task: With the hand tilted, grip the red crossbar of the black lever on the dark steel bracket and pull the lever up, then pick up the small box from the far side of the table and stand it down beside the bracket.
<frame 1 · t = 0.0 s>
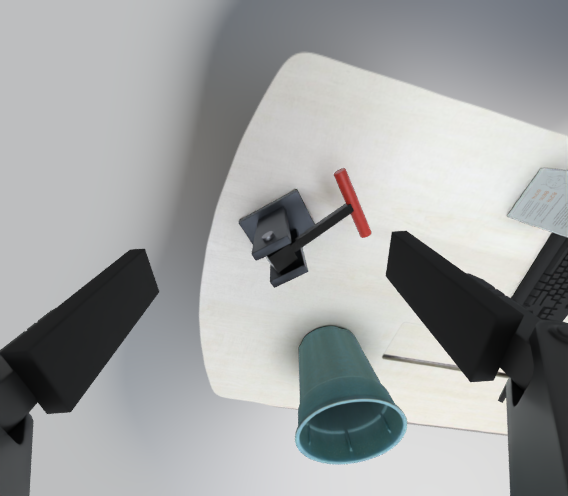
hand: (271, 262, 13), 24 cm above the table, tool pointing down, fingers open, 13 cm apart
small box: (535, 197, 38), on the table
lever: (315, 231, 28), point 9 cm above the table, hinge at -20.0°
bracket: (278, 224, 38), on the table
flower pot: (328, 346, 50), on the table
keyboard: (549, 279, 44), on the table
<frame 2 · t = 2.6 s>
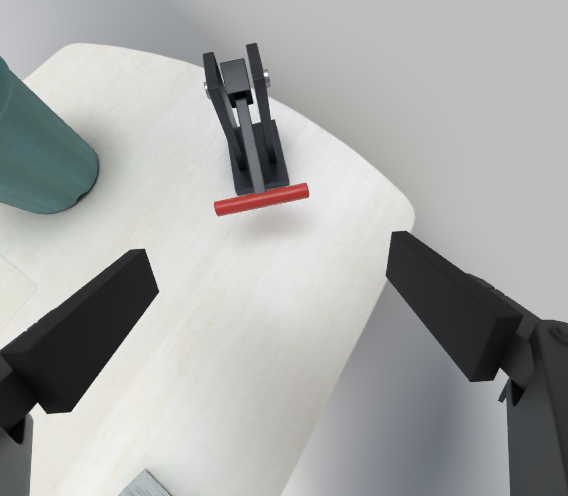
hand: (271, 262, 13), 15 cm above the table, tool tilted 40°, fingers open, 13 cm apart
lever: (249, 139, 23), point 9 cm above the table, hinge at -20.0°
bracket: (257, 159, 33), on the table
flower pot: (60, 178, 35), on the table
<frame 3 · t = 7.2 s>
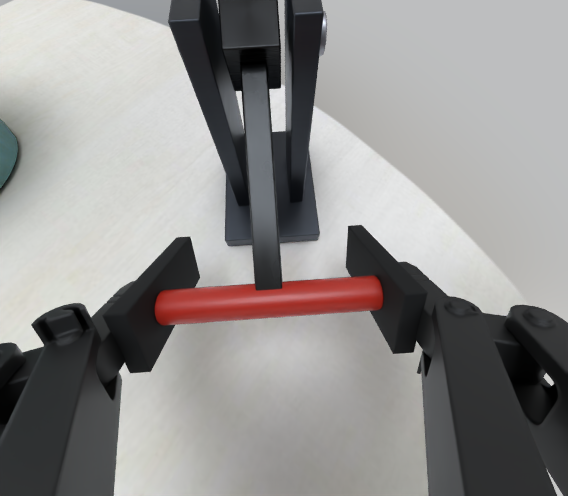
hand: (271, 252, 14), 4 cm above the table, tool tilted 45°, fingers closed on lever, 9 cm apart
lever: (260, 161, 10), point 9 cm above the table, hinge at -20.0°, touching gripper
bracket: (270, 188, 20), on the table
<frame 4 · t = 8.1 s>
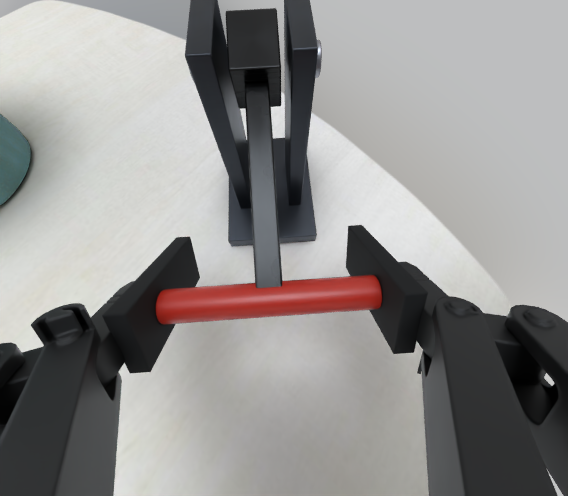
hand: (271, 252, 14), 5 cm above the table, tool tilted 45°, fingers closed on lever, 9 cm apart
lever: (262, 167, 11), point 10 cm above the table, hinge at -13.5°, touching gripper
bracket: (270, 192, 22), on the table
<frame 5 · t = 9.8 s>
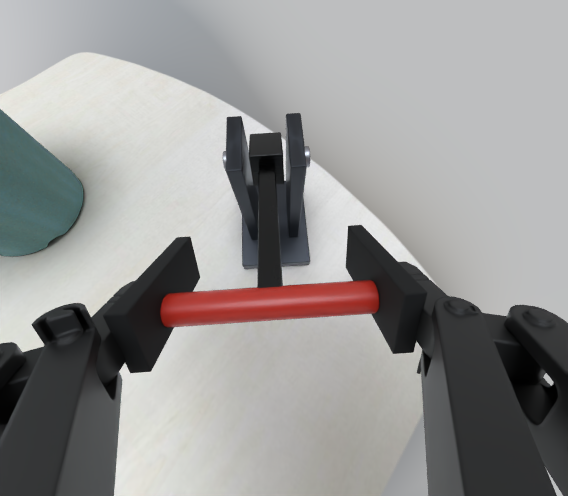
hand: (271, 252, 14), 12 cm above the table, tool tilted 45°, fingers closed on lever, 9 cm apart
lever: (268, 209, 14), point 13 cm above the table, hinge at 17.6°, touching gripper
bracket: (274, 224, 27), on the table
flower pot: (34, 210, 29), on the table
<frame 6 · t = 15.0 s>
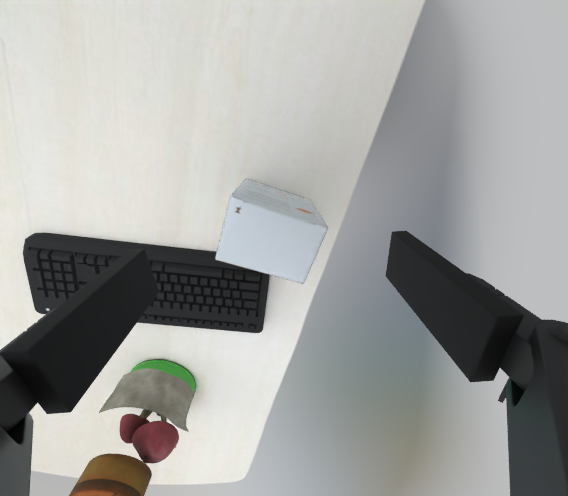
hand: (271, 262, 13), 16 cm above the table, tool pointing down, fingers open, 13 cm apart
small box: (272, 210, 29), on the table
keyboard: (156, 281, 32), on the table
multicoloured stacked piece: (166, 381, 40), on the table
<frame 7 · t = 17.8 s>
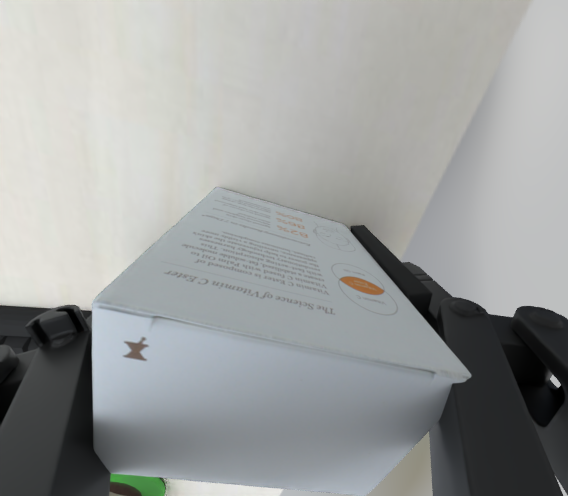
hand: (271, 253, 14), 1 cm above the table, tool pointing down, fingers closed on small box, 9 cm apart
small box: (271, 244, 15), on the table, touching gripper
keyboard: (77, 362, 19), on the table
multicoloured stacked piece: (122, 482, 27), on the table
when the fingers open (1 cm above the table, at t = 25.6 s): small box stays where it is, on the table.
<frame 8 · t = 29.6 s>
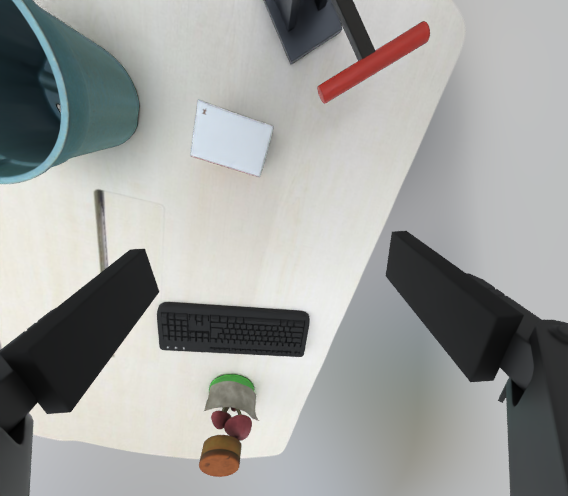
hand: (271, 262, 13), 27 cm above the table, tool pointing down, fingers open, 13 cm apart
small box: (242, 139, 35), on the table
bracket: (297, 2, 29), on the table
flower pot: (94, 99, 32), on the table
keyboard: (235, 326, 50), on the table
multicoloured stacked piece: (234, 387, 58), on the table
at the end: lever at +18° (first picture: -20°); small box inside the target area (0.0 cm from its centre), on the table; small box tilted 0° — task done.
